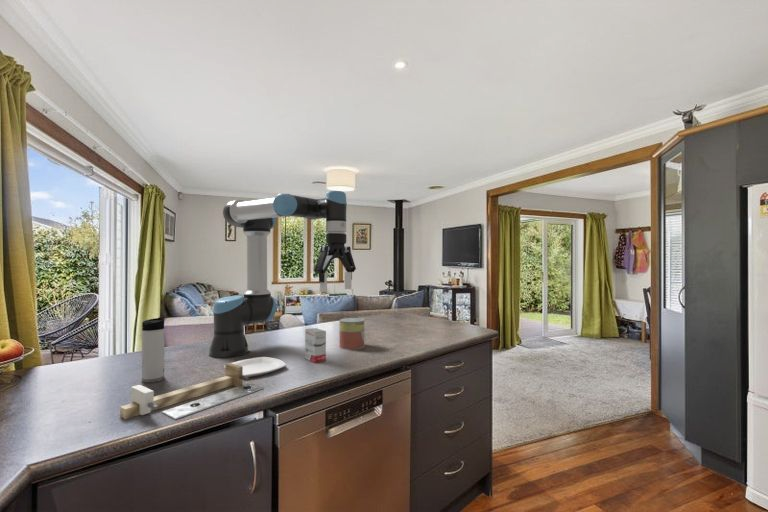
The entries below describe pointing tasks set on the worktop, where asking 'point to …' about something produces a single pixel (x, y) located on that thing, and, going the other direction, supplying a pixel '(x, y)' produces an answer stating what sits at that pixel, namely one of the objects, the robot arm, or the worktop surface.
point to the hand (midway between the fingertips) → (336, 290)
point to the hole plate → (211, 401)
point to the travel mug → (153, 350)
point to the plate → (259, 365)
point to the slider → (143, 399)
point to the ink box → (315, 345)
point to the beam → (191, 391)
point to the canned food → (351, 333)
